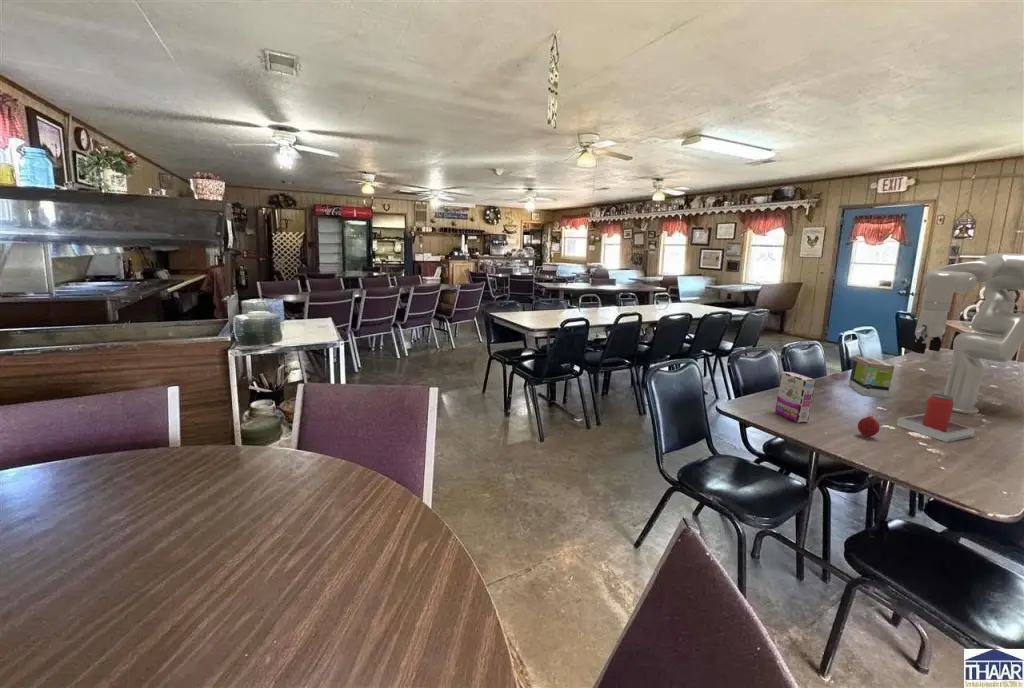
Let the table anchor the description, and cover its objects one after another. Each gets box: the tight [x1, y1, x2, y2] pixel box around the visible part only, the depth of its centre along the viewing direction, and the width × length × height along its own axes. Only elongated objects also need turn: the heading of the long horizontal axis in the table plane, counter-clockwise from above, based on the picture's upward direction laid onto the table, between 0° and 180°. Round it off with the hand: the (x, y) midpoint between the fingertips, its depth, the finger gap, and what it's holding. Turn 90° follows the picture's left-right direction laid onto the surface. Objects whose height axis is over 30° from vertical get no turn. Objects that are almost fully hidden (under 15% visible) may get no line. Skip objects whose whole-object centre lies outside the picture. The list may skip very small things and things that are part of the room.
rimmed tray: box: [896, 413, 975, 443], centre depth 163 cm, size 15×15×3 cm
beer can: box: [923, 393, 954, 431], centre depth 162 cm, size 7×7×12 cm
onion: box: [857, 414, 880, 438], centre depth 155 cm, size 6×6×8 cm
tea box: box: [848, 356, 895, 399], centre depth 206 cm, size 15×10×15 cm, turn 164°
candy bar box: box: [774, 371, 817, 424], centre depth 170 cm, size 11×5×16 cm, turn 12°
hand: (926, 351), depth 172 cm, fingers open, 9 cm apart
